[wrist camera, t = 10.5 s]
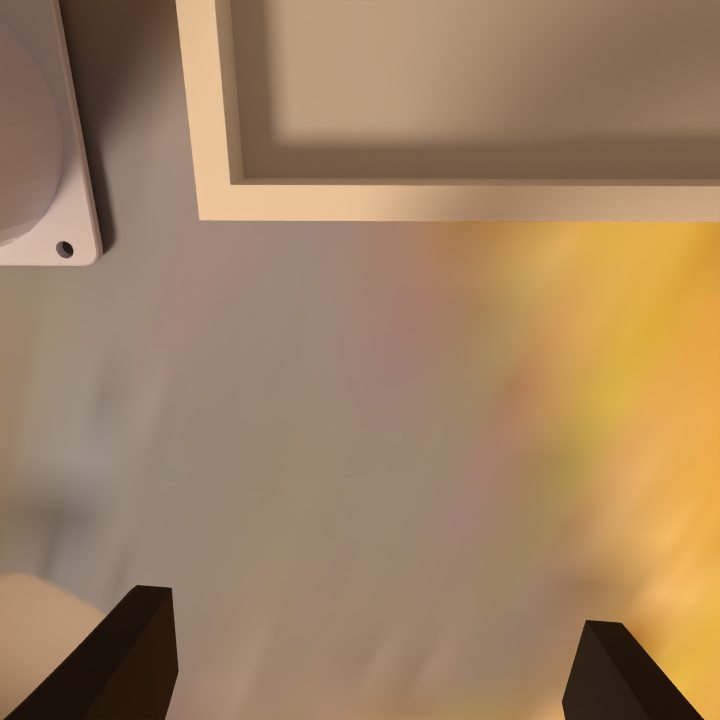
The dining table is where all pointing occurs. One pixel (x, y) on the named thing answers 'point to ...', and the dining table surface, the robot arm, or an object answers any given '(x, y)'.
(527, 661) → the dining table surface
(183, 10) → the open box
